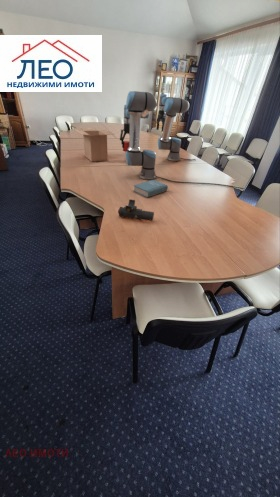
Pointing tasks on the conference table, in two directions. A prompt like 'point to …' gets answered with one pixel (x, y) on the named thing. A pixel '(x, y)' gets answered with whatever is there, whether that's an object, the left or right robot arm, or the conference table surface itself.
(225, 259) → the conference table surface
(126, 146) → the canister
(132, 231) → the conference table surface
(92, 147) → the box
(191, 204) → the conference table surface
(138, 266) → the conference table surface
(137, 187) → the book
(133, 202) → the laser sight
